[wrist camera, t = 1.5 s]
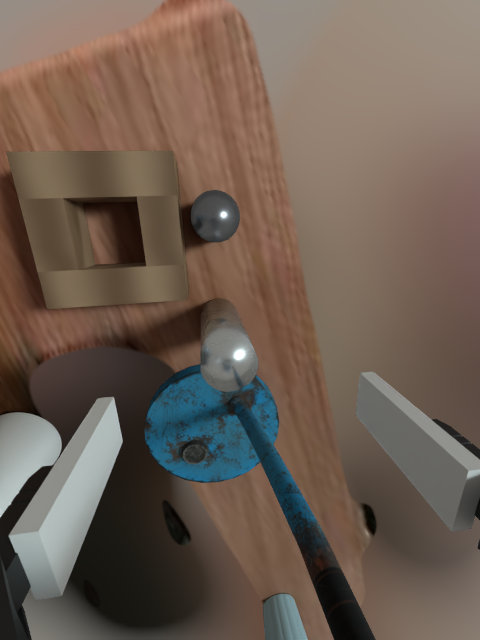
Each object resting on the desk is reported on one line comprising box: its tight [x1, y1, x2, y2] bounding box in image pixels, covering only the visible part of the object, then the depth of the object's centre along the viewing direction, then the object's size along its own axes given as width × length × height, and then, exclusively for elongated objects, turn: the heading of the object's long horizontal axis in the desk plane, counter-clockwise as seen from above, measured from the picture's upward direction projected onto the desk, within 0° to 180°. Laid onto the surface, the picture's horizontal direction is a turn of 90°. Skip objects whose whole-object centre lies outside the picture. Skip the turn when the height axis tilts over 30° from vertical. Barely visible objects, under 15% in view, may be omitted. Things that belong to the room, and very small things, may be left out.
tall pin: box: [200, 298, 258, 392], centre depth 25 cm, size 4×4×12 cm
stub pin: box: [191, 190, 240, 242], centre depth 25 cm, size 4×4×5 cm
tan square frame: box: [6, 151, 189, 309], centre depth 25 cm, size 12×12×4 cm
